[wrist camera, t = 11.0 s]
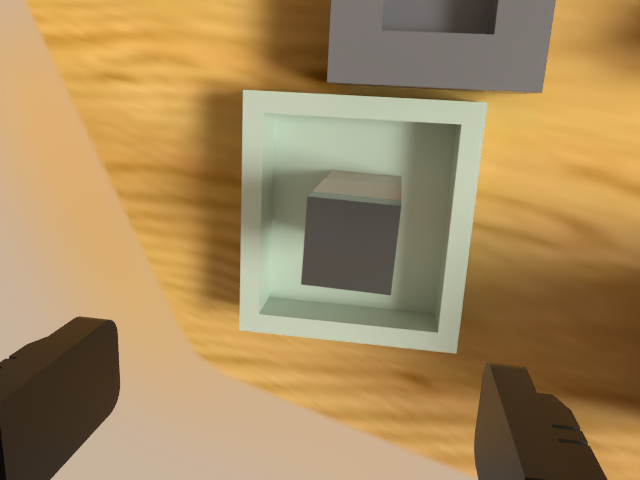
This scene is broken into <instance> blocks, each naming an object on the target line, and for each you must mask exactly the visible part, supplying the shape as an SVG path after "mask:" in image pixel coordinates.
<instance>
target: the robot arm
mask: <svg viewBox="0 0 640 480" xmlns="http://www.w3.org/2000/svg"><path fill="white" fill-rule="evenodd" d="M119 390H120V373H119V352H118V333H117V327H116V325H115V323H114V322H113V321H112V320H106V319H97V318H88V317H76V318H74V319H73V320H71V321H70V322H68V323H67V324H65V325H64V326H63V327H61V328H60V329H58V330H57V331H55V332H54V333H52V334H51V335H50V336H48V337H45V338H43V339H40V340H37V341H35V342H32V343H29V344H27V345H25V346H24V347H22V348H21V349H19V350H18V351H16V352H15V353H13V354H12V355H11V356H9V359H4V360H3V361H2V362H0V480H50V479H51V478H52V477H53V476H54V475H55V474H56V473H57V472H58V470H59V469H60V468H61V467H62V466H63V465H64V464H65V463H66V462H67V461H68V460H69V458H70V457H71V456H72V455H73V454H74V453H75V452H76V451H77V450H78V449H79V448H80V446H81V445H82V444H83V443H84V442H85V441H86V440H87V439H88V438H89V437H90V435H91V434H92V433H93V432H94V431H95V430H96V429H97V428H98V427H99V426H100V425H101V423H102V422H103V421H104V420H105V419H106V418H107V417H108V416H109V415H110V413H111V412H112V411H113V409H114V407H115V405H116V403H117V400H118V396H119ZM474 454H475V464H476V469H477V474H478V480H607V478H606V476H605V474H604V472H603V470H602V468H601V467H600V465H599V463H598V461H597V459H596V457H595V455H594V453H593V451H592V449H591V448H590V446H588V442H587V440H586V438H585V436H584V434H583V432H582V431H580V427H579V425H578V423H577V421H576V419H575V417H574V415H573V413H572V411H571V410H570V409H569V408H567V407H566V406H565V405H564V404H563V403H561V402H560V401H559V400H558V399H557V398H556V397H554V396H553V395H550V394H542V393H537V392H536V389H535V387H534V385H533V383H532V380H531V378H530V376H529V374H528V371H527V369H526V368H525V367H520V366H511V365H502V364H493V363H487V364H486V366H485V369H484V374H483V380H482V387H481V394H480V401H479V408H478V415H477V422H476V429H475V441H474Z"/></svg>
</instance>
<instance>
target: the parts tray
mask: <svg viewBox="0 0 640 480" xmlns="http://www.w3.org/2000/svg"><path fill="white" fill-rule="evenodd" d="M487 104H488V103H487V102H468V101H449V100H430V99H411V98H392V97H373V96H354V95H334V94H315V93H296V92H277V91H258V90H243V121H242V188H241V256H240V323H239V330H242V331H251V332H260V333H270V334H279V335H288V336H297V337H307V338H316V339H325V340H334V341H344V342H353V343H362V344H371V345H381V346H390V347H399V348H408V349H418V350H427V351H436V352H446V353H455V354H457V346H458V338H459V330H460V322H461V314H462V306H463V298H464V290H465V282H466V273H467V265H468V257H469V249H470V241H471V233H472V225H473V217H474V209H475V201H476V193H477V185H478V177H479V168H480V160H481V152H482V144H483V136H484V128H485V120H486V112H487ZM332 170H339V171H349V172H360V173H370V174H380V175H391V176H401V177H402V183H401V213H400V222H399V230H398V239H397V247H396V256H395V264H394V273H393V281H392V290H391V295H383V294H375V293H367V292H359V291H350V290H342V289H334V288H326V287H318V286H309V285H301V278H302V264H303V250H304V236H305V223H306V209H307V196H308V195H309V194H310V193H311V192H312V191H313V190H314V189H315V188H316V187H317V186H318V185H319V184H320V183H321V182H322V181H323V180H324V179H325V178H326V177H327V176H328V175H329V173H330V172H331V171H332Z"/></svg>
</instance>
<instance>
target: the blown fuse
mask: <svg viewBox="0 0 640 480" xmlns="http://www.w3.org/2000/svg"><path fill="white" fill-rule="evenodd" d="M401 183H402V177H401V176H391V175H380V174H370V173H360V172H349V171H339V170H332V171H331V172H330V173H329V175H328V176H327V177H326V178H325V179H324V180H323V181H322V182H321V183H320V184H319V185H318V186H317V187H316V188H315V189H314V190H313V191H312V192H311V193H310V194H309V195H308V196H307V209H306V223H305V236H304V250H303V264H302V278H301V285H309V286H318V287H326V288H334V289H342V290H350V291H359V292H367V293H375V294H383V295H391V290H392V281H393V273H394V264H395V256H396V247H397V239H398V230H399V222H400V213H401Z"/></svg>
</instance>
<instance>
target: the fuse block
mask: <svg viewBox="0 0 640 480" xmlns="http://www.w3.org/2000/svg"><path fill="white" fill-rule="evenodd" d="M555 1H556V0H331V12H330V31H329V50H328V70H327V82H328V83H333V84H339V85H359V86H379V87H399V88H419V89H439V90H459V91H479V92H499V93H519V94H526V93H542V89H543V82H544V76H545V69H546V62H547V55H548V48H549V42H550V35H551V28H552V21H553V14H554V8H555Z"/></svg>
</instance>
